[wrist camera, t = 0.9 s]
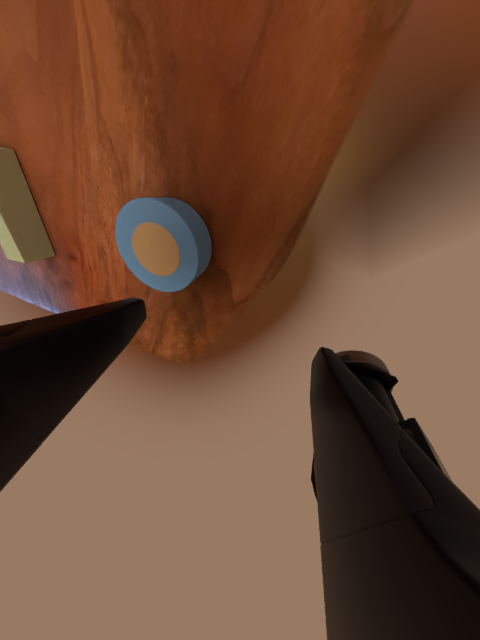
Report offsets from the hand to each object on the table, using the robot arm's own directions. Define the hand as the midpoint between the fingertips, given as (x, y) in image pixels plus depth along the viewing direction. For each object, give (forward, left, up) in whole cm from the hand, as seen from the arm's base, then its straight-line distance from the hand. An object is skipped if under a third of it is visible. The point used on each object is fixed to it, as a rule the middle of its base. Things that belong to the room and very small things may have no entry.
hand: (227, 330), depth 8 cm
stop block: (+23, 0, -10) cm, 25 cm away
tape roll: (+8, 0, -10) cm, 13 cm away
